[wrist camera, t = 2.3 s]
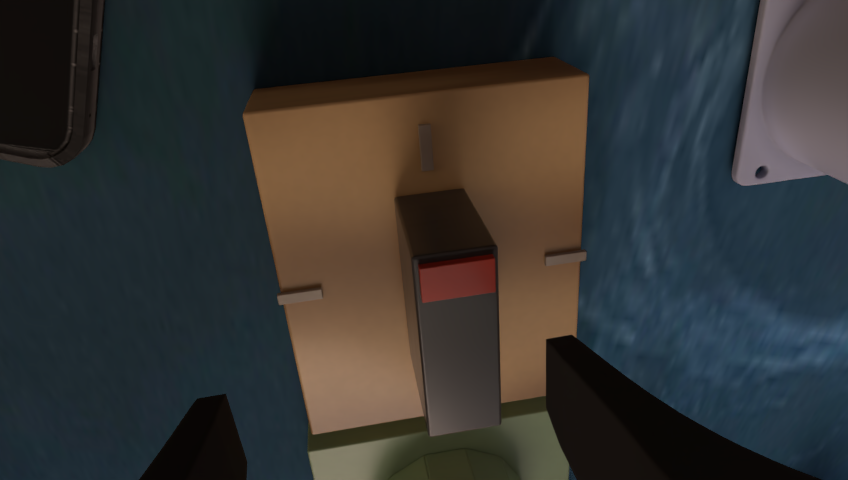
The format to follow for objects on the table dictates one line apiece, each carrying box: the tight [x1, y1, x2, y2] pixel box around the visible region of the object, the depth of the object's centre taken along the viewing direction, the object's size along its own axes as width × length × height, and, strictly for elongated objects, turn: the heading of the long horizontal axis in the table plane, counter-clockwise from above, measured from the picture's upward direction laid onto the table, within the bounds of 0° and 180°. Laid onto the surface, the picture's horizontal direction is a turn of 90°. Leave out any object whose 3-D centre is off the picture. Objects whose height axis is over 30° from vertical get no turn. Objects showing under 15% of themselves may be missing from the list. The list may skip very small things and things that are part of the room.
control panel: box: [243, 57, 589, 435], centre depth 21 cm, size 12×10×3 cm
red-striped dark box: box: [394, 188, 502, 437], centre depth 18 cm, size 6×2×4 cm, turn 4°
